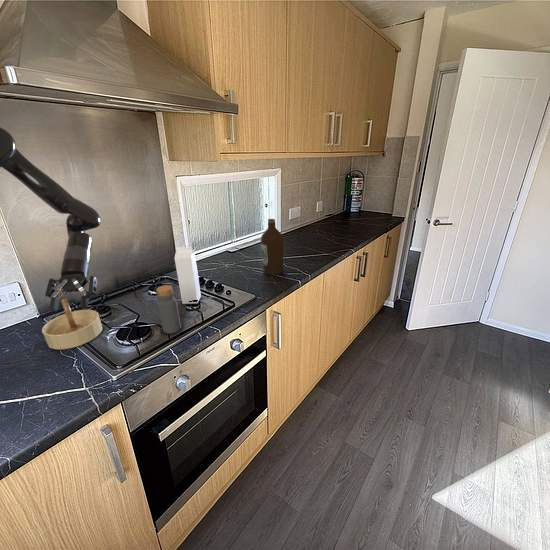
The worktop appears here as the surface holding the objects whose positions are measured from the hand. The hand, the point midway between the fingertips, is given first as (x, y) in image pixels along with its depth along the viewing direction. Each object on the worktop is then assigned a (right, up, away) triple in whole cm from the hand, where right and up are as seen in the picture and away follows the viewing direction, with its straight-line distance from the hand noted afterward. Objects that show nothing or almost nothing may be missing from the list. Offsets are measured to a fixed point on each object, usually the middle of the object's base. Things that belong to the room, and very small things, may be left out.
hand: (68, 309), depth 92 cm
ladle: (0, -9, +3) cm, 9 cm away
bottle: (+31, -7, +6) cm, 32 cm away
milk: (+32, +1, +24) cm, 40 cm away
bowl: (0, -9, +3) cm, 10 cm away
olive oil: (+64, +12, +49) cm, 82 cm away
